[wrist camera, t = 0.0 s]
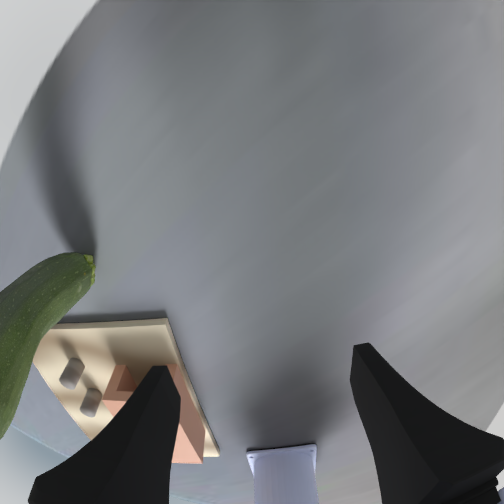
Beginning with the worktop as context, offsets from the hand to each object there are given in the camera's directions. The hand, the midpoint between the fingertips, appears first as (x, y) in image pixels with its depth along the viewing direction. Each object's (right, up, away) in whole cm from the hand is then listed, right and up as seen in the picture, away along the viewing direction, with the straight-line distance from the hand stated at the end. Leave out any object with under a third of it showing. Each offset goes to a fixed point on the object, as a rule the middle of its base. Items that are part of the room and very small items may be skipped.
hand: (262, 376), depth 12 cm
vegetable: (-12, +5, +9) cm, 16 cm away
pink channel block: (-8, -9, +14) cm, 19 cm away
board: (-13, -10, +16) cm, 23 cm away
